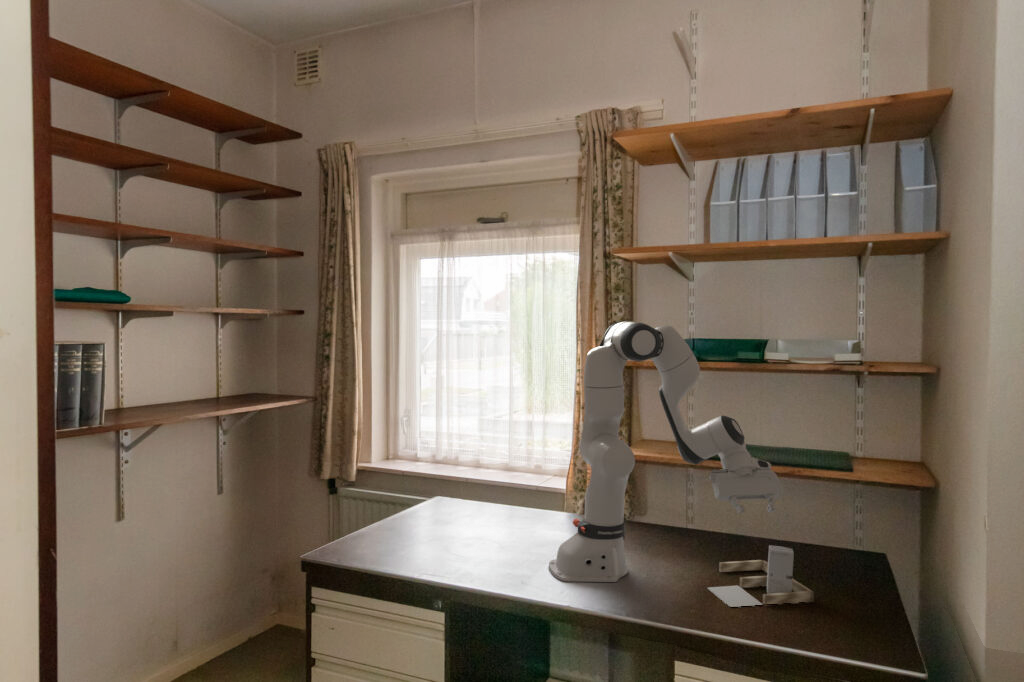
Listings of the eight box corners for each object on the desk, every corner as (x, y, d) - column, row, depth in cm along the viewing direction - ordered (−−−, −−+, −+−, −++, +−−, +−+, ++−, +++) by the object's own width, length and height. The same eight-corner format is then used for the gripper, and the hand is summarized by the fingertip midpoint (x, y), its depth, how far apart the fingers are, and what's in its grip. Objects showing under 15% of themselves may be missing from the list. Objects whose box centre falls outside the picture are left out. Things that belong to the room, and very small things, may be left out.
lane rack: (764, 605, 169) (765, 595, 169) (719, 570, 191) (719, 562, 191) (813, 601, 172) (814, 592, 172) (763, 568, 194) (763, 559, 194)
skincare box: (767, 595, 175) (768, 549, 175) (766, 588, 179) (767, 544, 179) (792, 598, 173) (794, 552, 173) (790, 592, 178) (792, 547, 177)
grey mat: (730, 608, 167) (730, 606, 167) (707, 588, 179) (707, 587, 179) (762, 605, 169) (763, 604, 169) (737, 586, 181) (737, 585, 181)
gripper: (711, 464, 192) (727, 507, 183) (775, 462, 196) (794, 504, 187) (703, 475, 196) (718, 518, 187) (765, 473, 200) (784, 515, 191)
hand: (757, 511), depth 187 cm, fingers open, 8 cm apart
